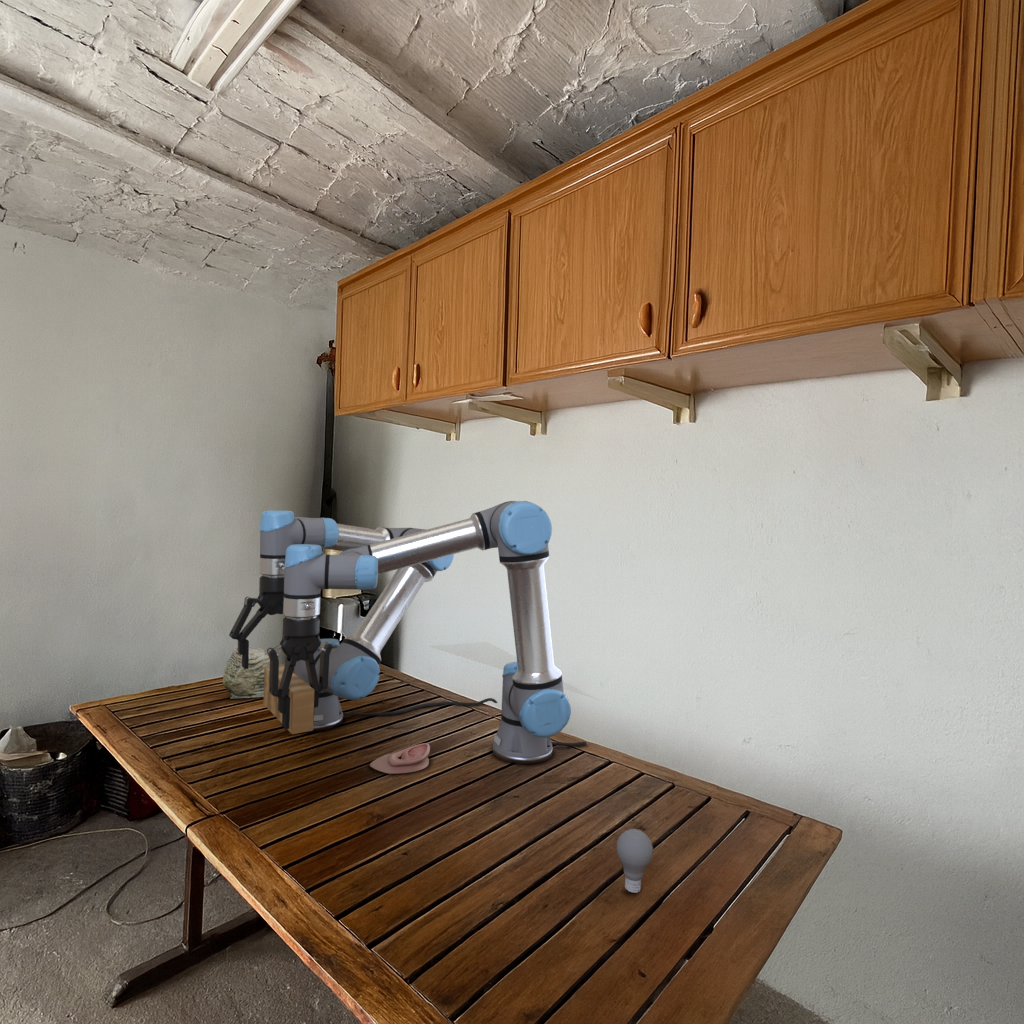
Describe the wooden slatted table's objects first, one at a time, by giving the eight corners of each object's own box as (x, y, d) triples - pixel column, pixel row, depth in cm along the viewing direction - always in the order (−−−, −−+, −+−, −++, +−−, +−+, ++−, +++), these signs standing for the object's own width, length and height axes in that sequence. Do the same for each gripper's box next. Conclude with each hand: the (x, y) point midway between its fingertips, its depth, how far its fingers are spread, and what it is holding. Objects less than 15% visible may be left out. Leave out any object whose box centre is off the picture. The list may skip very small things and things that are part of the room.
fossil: (218, 695, 195) (220, 647, 195) (278, 685, 208) (279, 640, 207) (228, 703, 189) (230, 653, 188) (289, 692, 201) (290, 645, 201)
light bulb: (610, 879, 108) (613, 822, 108) (644, 879, 109) (647, 822, 109) (619, 902, 102) (622, 840, 102) (655, 901, 103) (658, 840, 103)
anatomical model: (364, 753, 147) (384, 735, 158) (364, 770, 147) (383, 751, 158) (419, 760, 144) (435, 742, 155) (418, 778, 144) (434, 758, 156)
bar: (263, 703, 150) (264, 666, 150) (282, 700, 153) (283, 664, 153) (292, 734, 132) (293, 692, 132) (313, 730, 135) (314, 689, 134)
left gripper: (224, 580, 140) (223, 675, 141) (332, 574, 156) (331, 659, 156) (216, 576, 146) (215, 667, 147) (321, 570, 161) (319, 652, 162)
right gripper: (263, 623, 127) (260, 738, 128) (347, 616, 138) (343, 723, 138) (254, 616, 133) (250, 726, 134) (335, 610, 144) (331, 712, 144)
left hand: (274, 663), depth 152 cm, fingers open, 13 cm apart
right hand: (297, 724), depth 136 cm, fingers closed on bar, 4 cm apart
